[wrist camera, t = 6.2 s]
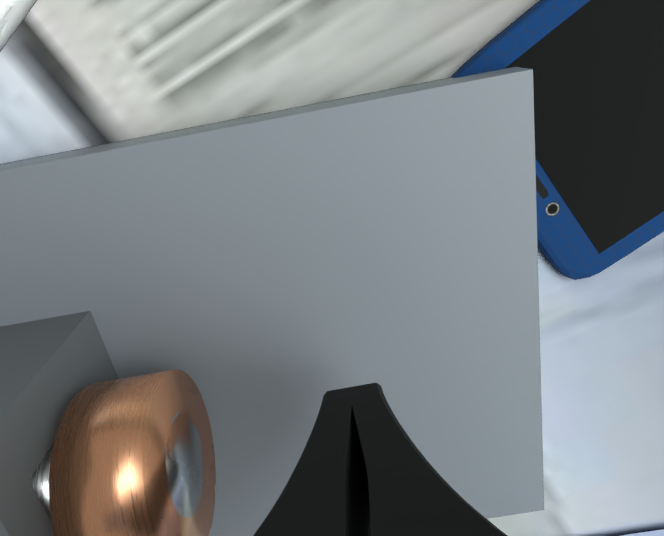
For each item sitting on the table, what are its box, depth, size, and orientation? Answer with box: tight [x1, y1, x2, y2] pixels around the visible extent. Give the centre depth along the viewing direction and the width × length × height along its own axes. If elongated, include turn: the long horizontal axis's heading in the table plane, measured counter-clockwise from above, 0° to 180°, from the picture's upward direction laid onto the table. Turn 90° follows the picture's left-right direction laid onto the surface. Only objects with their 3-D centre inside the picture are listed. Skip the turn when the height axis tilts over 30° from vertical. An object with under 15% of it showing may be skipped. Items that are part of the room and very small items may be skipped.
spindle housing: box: [0, 67, 544, 536], centre depth 14 cm, size 14×24×7 cm, turn 100°
